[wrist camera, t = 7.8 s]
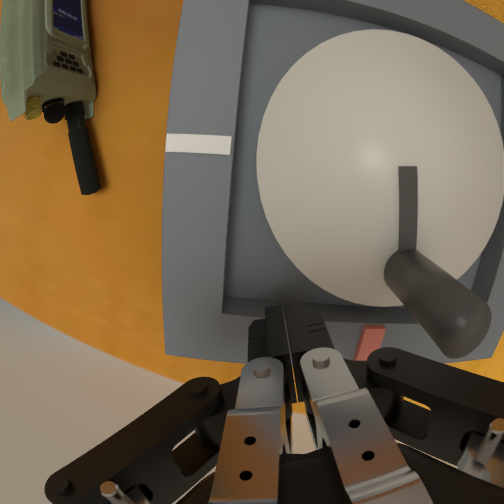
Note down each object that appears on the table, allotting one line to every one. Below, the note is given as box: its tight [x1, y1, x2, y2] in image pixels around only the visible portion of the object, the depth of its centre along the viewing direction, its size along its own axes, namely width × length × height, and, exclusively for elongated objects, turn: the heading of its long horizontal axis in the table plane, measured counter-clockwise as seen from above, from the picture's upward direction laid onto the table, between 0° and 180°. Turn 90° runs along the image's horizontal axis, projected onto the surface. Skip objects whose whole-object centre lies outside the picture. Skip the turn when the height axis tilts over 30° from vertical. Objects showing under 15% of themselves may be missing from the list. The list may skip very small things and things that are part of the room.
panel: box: [162, 0, 504, 366], centre depth 15 cm, size 22×22×4 cm
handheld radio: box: [0, 0, 102, 195], centre depth 11 cm, size 7×3×25 cm
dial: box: [256, 29, 504, 359], centre depth 11 cm, size 14×14×8 cm
